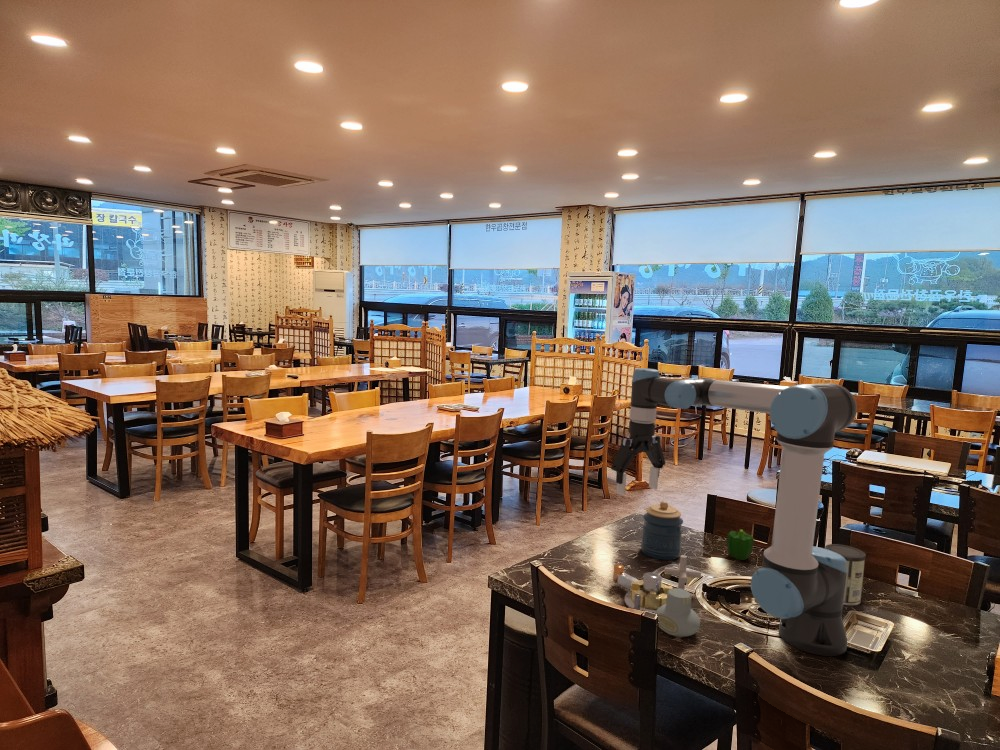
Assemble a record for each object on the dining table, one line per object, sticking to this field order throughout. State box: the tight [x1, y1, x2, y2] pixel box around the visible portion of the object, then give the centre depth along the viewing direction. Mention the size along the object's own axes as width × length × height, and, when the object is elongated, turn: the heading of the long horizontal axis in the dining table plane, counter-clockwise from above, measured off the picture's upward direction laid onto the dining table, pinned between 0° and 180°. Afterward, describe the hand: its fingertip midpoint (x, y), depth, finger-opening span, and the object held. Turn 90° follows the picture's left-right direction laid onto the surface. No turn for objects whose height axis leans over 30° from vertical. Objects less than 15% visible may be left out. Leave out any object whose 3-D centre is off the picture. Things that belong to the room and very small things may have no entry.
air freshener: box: [655, 587, 701, 638], centre depth 154 cm, size 11×8×10 cm
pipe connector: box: [663, 554, 702, 590], centre depth 177 cm, size 10×10×10 cm
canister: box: [640, 500, 684, 561], centre depth 204 cm, size 13×13×18 cm
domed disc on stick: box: [612, 563, 673, 609], centre depth 171 cm, size 20×11×4 cm, turn 34°
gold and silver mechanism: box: [624, 571, 663, 613], centre depth 165 cm, size 14×21×8 cm, turn 124°
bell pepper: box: [726, 529, 754, 561], centre depth 204 cm, size 8×8×10 cm
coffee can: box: [824, 543, 867, 606], centre depth 177 cm, size 10×10×14 cm
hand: (637, 491), depth 183 cm, fingers open, 13 cm apart
